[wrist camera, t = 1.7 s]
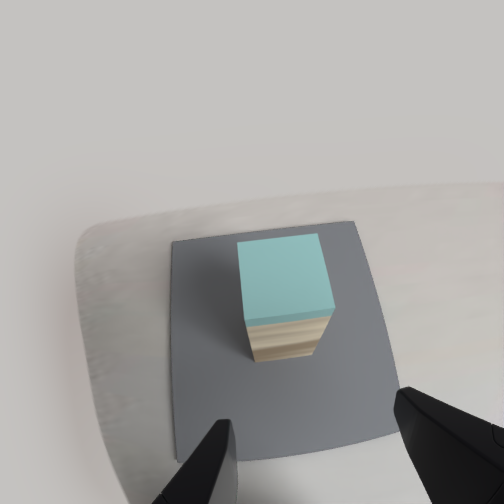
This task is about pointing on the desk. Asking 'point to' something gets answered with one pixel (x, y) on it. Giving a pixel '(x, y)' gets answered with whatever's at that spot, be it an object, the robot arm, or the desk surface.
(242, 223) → the desk surface
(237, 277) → the rubber mat
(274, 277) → the birch block
